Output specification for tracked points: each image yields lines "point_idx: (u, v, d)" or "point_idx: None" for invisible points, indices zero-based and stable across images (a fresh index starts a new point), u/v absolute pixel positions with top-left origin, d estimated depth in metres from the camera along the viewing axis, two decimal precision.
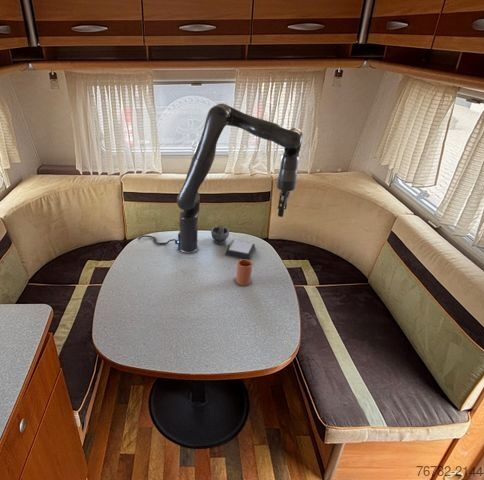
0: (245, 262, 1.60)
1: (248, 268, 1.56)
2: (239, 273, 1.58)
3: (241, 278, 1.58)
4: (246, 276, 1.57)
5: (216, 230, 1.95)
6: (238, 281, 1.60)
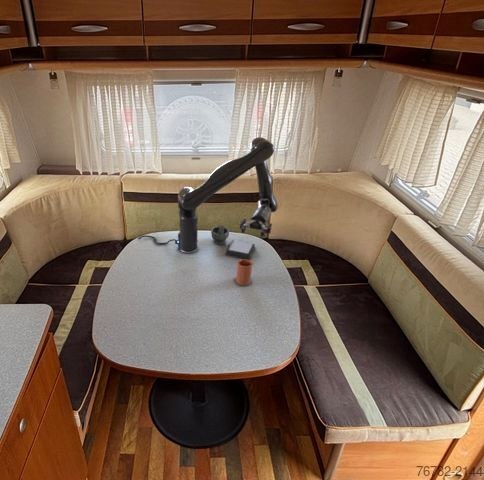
0: (245, 262, 1.60)
1: (248, 268, 1.56)
2: (239, 273, 1.58)
3: (241, 278, 1.58)
4: (246, 276, 1.57)
5: (216, 230, 1.95)
6: (238, 281, 1.60)
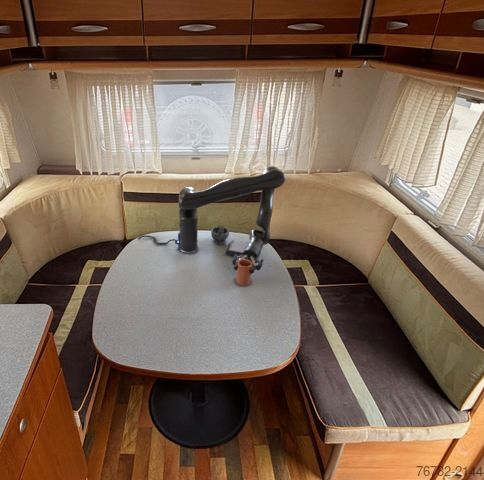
0: (245, 262, 1.60)
1: (248, 268, 1.56)
2: (239, 273, 1.58)
3: (241, 278, 1.58)
4: (246, 276, 1.57)
5: (216, 230, 1.95)
6: (238, 281, 1.60)
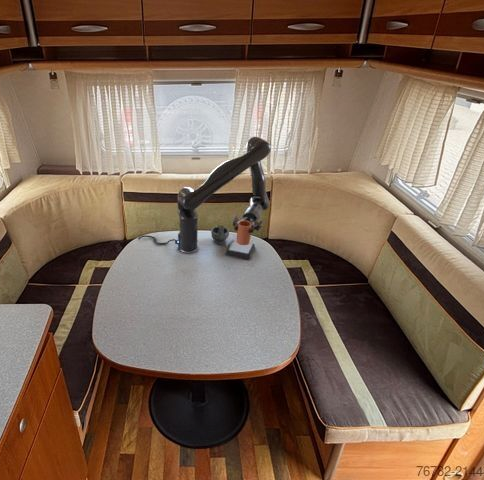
0: (245, 223, 1.69)
1: (248, 228, 1.64)
2: (239, 233, 1.67)
3: (241, 237, 1.67)
4: (246, 236, 1.66)
5: (216, 230, 1.95)
6: (238, 241, 1.69)
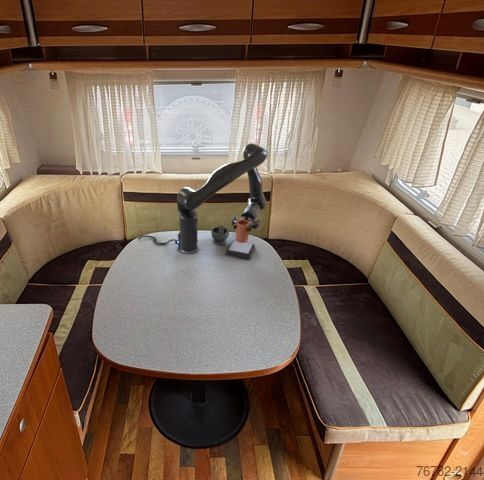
0: (243, 222, 1.80)
1: (246, 226, 1.75)
2: (238, 231, 1.77)
3: (240, 235, 1.78)
4: (244, 234, 1.77)
5: (216, 230, 1.95)
6: (237, 239, 1.80)
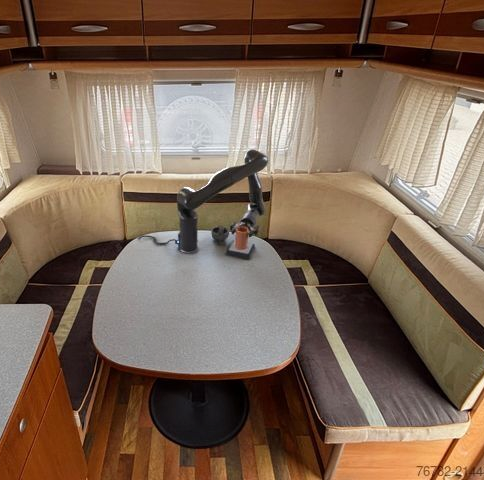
0: (243, 229, 1.82)
1: (245, 233, 1.77)
2: (237, 238, 1.79)
3: (239, 242, 1.79)
4: (243, 241, 1.79)
5: (216, 230, 1.95)
6: (236, 246, 1.81)
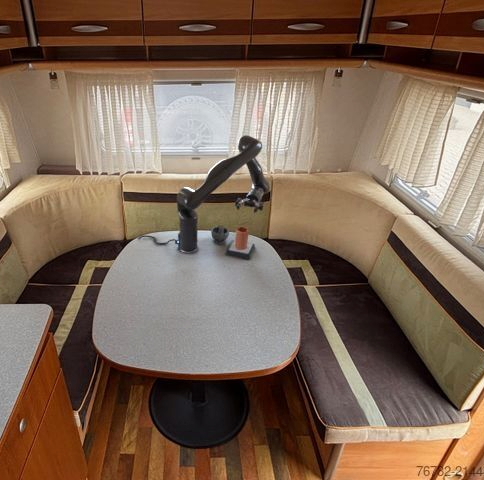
0: (243, 229, 1.82)
1: (245, 233, 1.77)
2: (237, 238, 1.79)
3: (239, 242, 1.79)
4: (243, 241, 1.79)
5: (216, 230, 1.95)
6: (236, 246, 1.81)
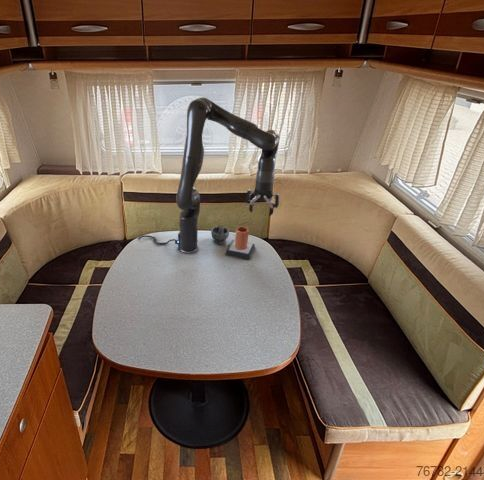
0: (243, 229, 1.82)
1: (245, 233, 1.77)
2: (237, 238, 1.79)
3: (239, 242, 1.79)
4: (243, 241, 1.79)
5: (216, 230, 1.95)
6: (236, 246, 1.81)
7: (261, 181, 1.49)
